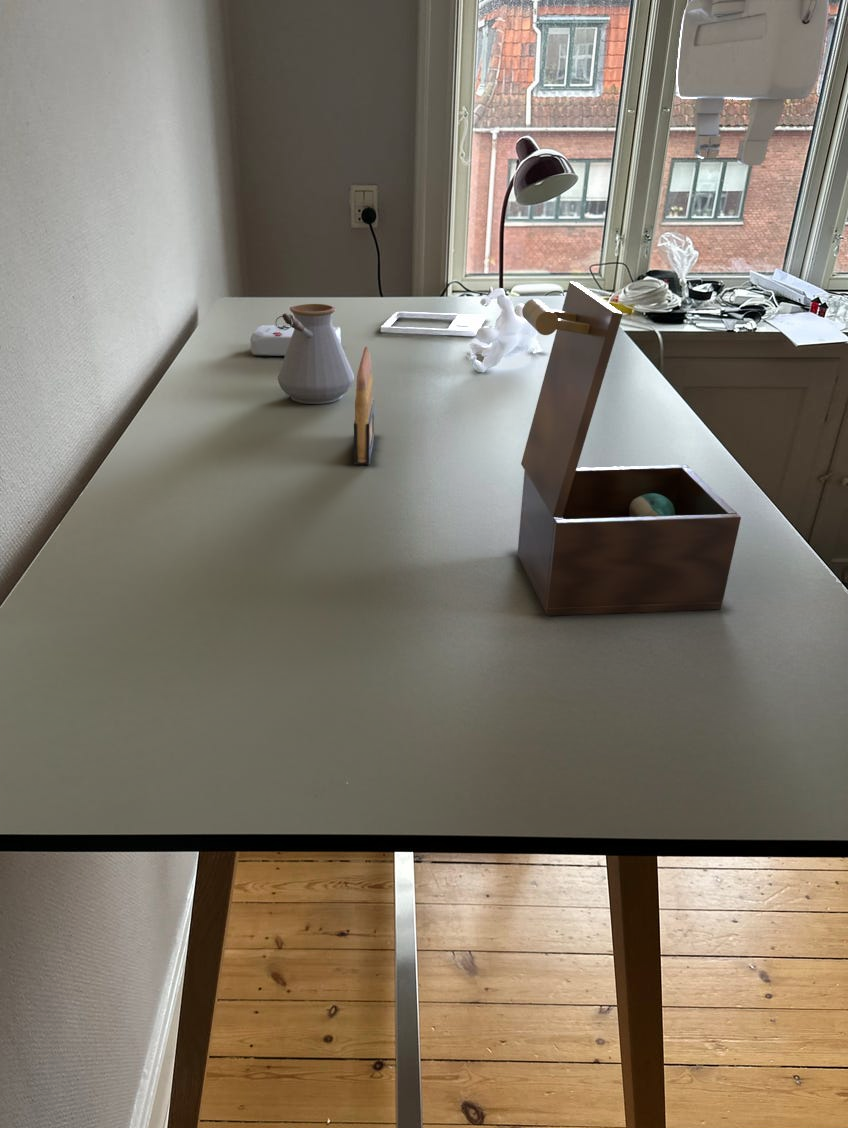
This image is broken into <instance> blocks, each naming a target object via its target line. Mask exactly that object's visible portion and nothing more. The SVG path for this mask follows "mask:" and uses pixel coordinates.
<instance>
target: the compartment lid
mask: <svg viewBox="0 0 848 1128" xmlns="http://www.w3.org/2000/svg"><path fill="white" fill-rule="evenodd" d="M523 305H524V307H523V310H522V313H523V317H524V318H525V319H526V320H527V321H528V322H529V323H530V324H531V325H532V326H533V327H534V328H535V329H536V330H537V332H538V333H539V334H540V335H542V336H549V335H552V334H553V333H554V332H555V334H554V338H553V342H552V346H551V350H550V354H549V357H548V360H547V361H548V362H547V364H546V367H545V372H544V376H543V379H542V384H541V387H540V391H539V394H538V399H537V401H536V406H535V409H534V413H533V416H532V421H531V425H530V429H529V432H528V435H527V440H526V443H525V447H524V452H523V455H522V459H521V463H520V465H521V466H522V468H523V470H525V471H526V473H527V475H528V476H529V478H530V480H531V481H532V483H533V485H534V486H535V488H536V490H537V491H538V493H539V495H540V496H541V498H542V500H543V501H544V503H545V505H546V506H547V508H548V510H549V511H550V513H551V515H552V516H553V517H555V518H562V516H563V512H564V509H565V506H566V502H567V499H568V496H569V492H570V489H571V486H572V482H573V479H574V476H575V472H576V469H577V468H578V465H579V462H580V459H581V455H582V451H583V448H584V445H585V441H586V438H587V435H588V432H589V429H590V425H591V421H592V419H593V415H594V411H595V409H596V405H597V402H598V399H599V395H600V392H601V389H602V386H603V381H604V379H605V375H606V372H607V368H608V366H609V363H610V358H611V355H612V352H613V348H614V346H615V342H616V338H617V334H618V332H619V328H620V325H621V321H622V318H623V315H624V313H622V312H621V311H620V310H618V309H617V308H615V307H614V306H612V305H611V304H610V303H608V302H606V301H605V300H603V299H602V298H600V296H597V295H596V294H594V293H593V292H592V291H590V290H589V289H587V288H586V287H584V286H583V285H582V284H580V283H579V282H574V281H569V282H568V286H567V290H566V294H565V297H564V300H563V304H562V309H561V310H558V309H551V308H549V307H548V306H547V305H545V303H544V302H543V301H541V300H539V299H536V298H531V299H529V300H528V301H525V303H524V304H523Z"/></svg>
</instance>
